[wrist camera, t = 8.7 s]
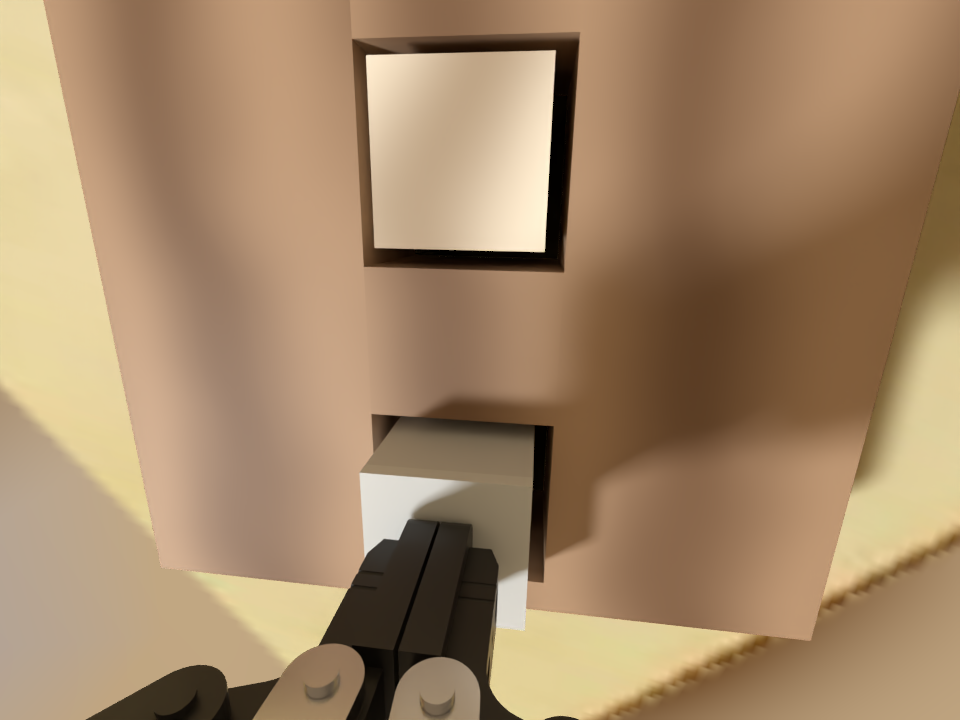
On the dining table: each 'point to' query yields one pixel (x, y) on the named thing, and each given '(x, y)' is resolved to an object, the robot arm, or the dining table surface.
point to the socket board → (517, 280)
